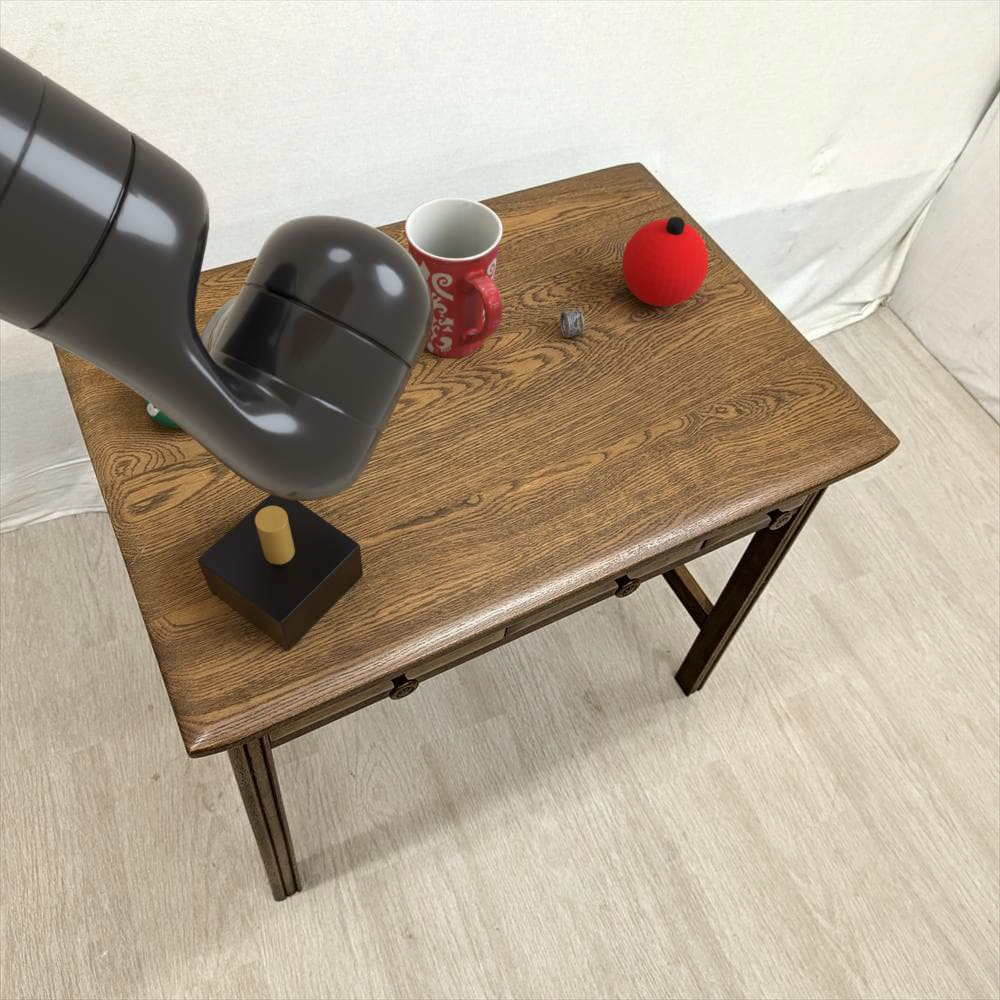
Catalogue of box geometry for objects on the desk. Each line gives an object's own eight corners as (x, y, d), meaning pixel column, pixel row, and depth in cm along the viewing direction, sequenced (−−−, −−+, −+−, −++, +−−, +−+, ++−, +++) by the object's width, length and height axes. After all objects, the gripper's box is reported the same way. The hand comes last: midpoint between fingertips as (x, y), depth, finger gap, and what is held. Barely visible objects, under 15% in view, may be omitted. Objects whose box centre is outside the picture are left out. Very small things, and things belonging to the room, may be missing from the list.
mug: (392, 316, 94) (388, 209, 83) (469, 293, 97) (476, 186, 86) (444, 400, 88) (447, 297, 77) (525, 373, 91) (539, 269, 80)
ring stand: (288, 651, 72) (272, 593, 64) (209, 589, 75) (183, 526, 67) (363, 575, 76) (356, 511, 68) (285, 519, 79) (270, 451, 71)
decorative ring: (582, 341, 94) (587, 320, 92) (565, 343, 94) (569, 322, 91) (574, 322, 95) (578, 301, 93) (558, 324, 95) (561, 303, 93)
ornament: (710, 314, 98) (737, 240, 89) (637, 332, 95) (658, 258, 87) (672, 260, 102) (694, 185, 94) (601, 276, 100) (618, 201, 92)
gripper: (376, 262, 51) (328, 285, 66) (112, 324, 46) (127, 333, 62) (411, 391, 52) (355, 384, 68) (159, 462, 48) (162, 437, 64)
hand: (246, 360), depth 65 cm, fingers closed on ring, 6 cm apart
